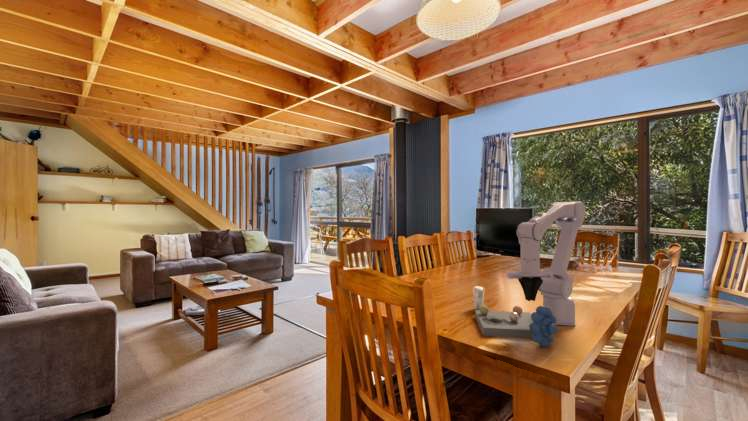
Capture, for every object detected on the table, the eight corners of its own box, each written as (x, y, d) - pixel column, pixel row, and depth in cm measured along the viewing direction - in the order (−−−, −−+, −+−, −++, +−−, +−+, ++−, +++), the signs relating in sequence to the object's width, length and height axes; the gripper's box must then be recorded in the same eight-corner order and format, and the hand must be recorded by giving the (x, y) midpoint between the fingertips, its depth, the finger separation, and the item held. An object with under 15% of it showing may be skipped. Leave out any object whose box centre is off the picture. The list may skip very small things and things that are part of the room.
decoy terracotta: (521, 313, 115) (521, 304, 115) (523, 316, 112) (523, 307, 112) (511, 313, 116) (511, 304, 116) (514, 316, 113) (513, 307, 113)
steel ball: (518, 320, 108) (518, 310, 108) (520, 323, 105) (520, 313, 105) (508, 319, 109) (507, 310, 109) (510, 323, 106) (510, 313, 106)
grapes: (546, 357, 87) (546, 312, 87) (523, 348, 93) (523, 306, 93) (569, 347, 93) (569, 305, 93) (546, 339, 99) (546, 300, 99)
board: (529, 319, 117) (529, 312, 117) (547, 339, 99) (547, 331, 99) (475, 316, 120) (475, 310, 120) (483, 335, 102) (483, 327, 102)
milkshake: (480, 312, 125) (480, 286, 125) (470, 308, 130) (470, 283, 130) (488, 310, 127) (488, 285, 127) (478, 307, 132) (478, 282, 132)
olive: (488, 313, 116) (487, 304, 116) (489, 316, 113) (489, 306, 113) (478, 312, 117) (478, 303, 117) (480, 315, 114) (480, 306, 114)
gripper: (544, 256, 111) (544, 296, 111) (503, 257, 110) (503, 297, 110) (557, 260, 104) (557, 302, 104) (513, 260, 103) (513, 303, 103)
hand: (530, 300), depth 106 cm, fingers closed
